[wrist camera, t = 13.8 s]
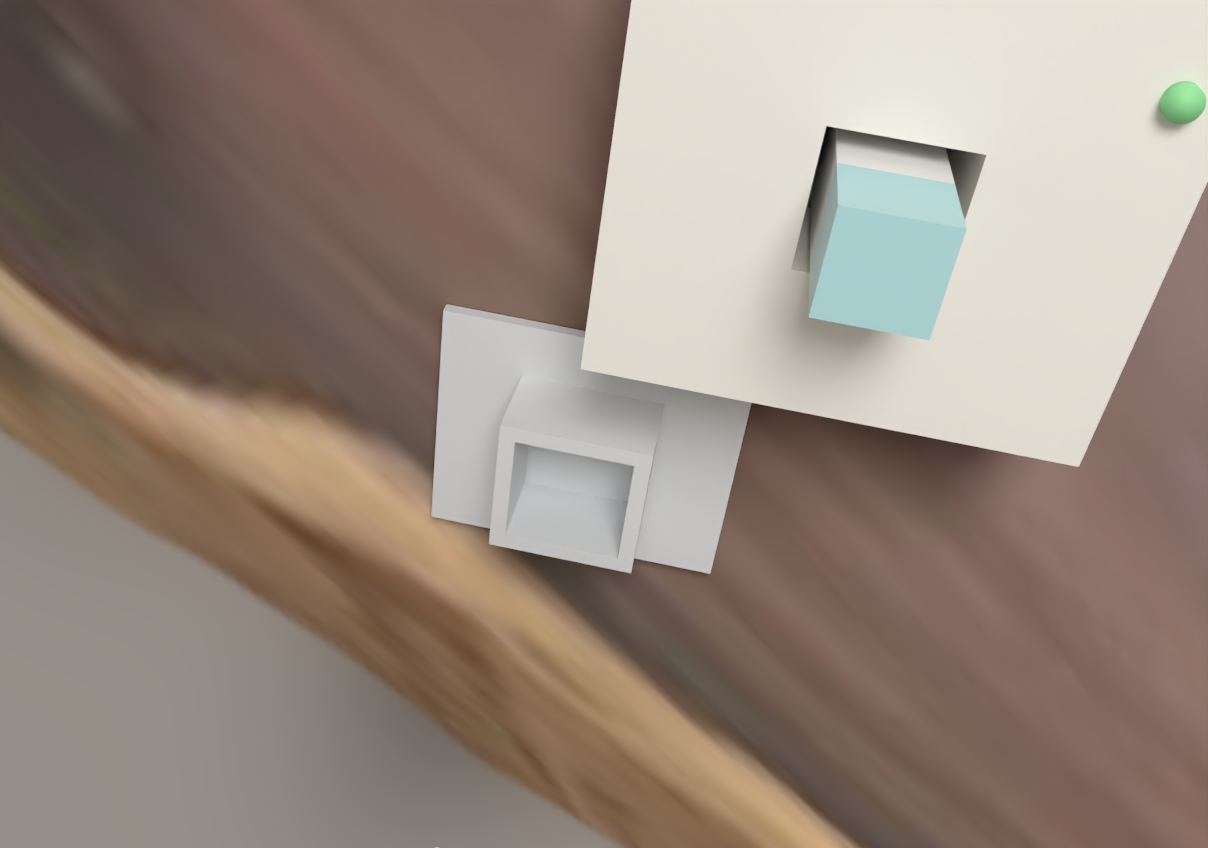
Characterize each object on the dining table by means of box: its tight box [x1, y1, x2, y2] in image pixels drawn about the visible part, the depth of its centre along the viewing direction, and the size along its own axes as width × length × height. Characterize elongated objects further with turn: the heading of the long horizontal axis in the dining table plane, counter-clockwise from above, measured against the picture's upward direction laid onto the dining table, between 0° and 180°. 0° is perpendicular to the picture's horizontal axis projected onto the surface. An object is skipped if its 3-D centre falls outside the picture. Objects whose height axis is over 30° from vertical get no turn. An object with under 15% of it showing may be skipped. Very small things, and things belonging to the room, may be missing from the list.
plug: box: [809, 126, 967, 340], centre depth 33 cm, size 3×3×9 cm
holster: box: [431, 304, 751, 574], centre depth 44 cm, size 12×10×4 cm
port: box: [580, 0, 1208, 467], centre depth 35 cm, size 16×14×6 cm
